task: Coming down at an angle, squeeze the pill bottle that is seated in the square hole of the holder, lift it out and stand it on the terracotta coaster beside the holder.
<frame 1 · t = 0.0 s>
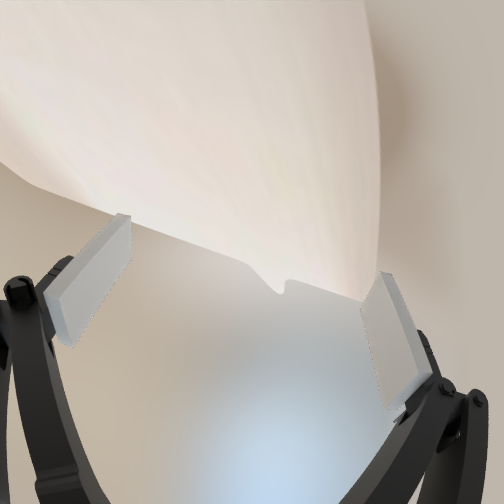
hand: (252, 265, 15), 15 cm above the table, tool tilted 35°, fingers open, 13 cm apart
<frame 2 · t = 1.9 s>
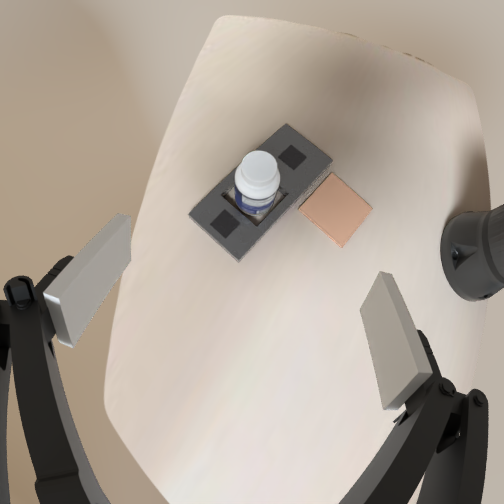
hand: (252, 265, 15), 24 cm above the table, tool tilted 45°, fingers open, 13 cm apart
coaster: (336, 209, 42), on the table
holder: (263, 188, 42), on the table
pill bottle: (254, 199, 42), resting in holder
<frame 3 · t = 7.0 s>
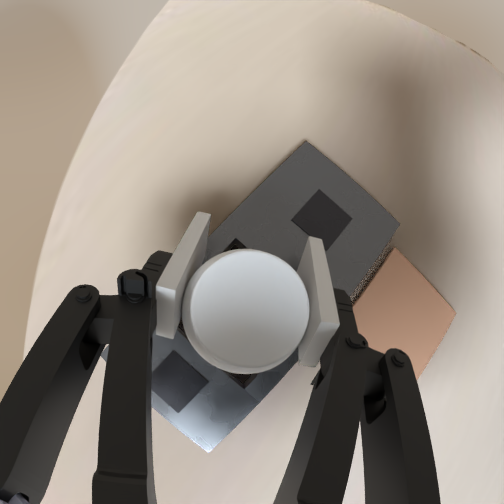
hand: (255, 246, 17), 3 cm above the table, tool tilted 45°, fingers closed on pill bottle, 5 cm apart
coaster: (400, 323, 20), on the table
holder: (259, 291, 20), on the table
pill bottle: (238, 314, 19), resting in holder, touching gripper
when the fingers open (5 cm above the table, at t = 11.6 s): pill bottle drops 1 cm, resting on coaster.
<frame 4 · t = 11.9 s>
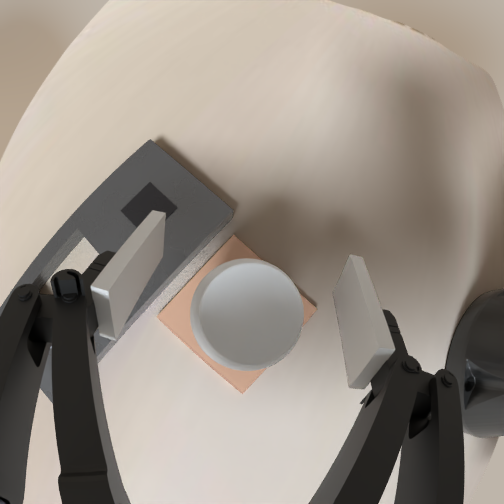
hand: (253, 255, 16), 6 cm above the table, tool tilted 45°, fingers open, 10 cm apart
coaster: (237, 314, 21), on the table
holder: (99, 273, 21), on the table
pill bottle: (240, 315, 21), resting on coaster
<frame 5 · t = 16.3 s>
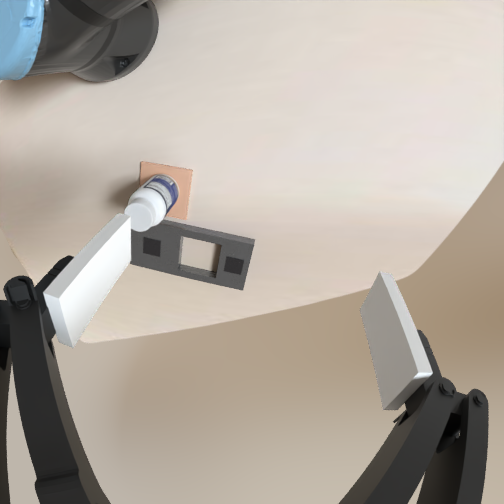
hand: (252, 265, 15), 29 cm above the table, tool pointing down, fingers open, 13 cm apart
coaster: (164, 190, 44), on the table
holder: (189, 249, 49), on the table
pill bottle: (163, 189, 44), resting on coaster
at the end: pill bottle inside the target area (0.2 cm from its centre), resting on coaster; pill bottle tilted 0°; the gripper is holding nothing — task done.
